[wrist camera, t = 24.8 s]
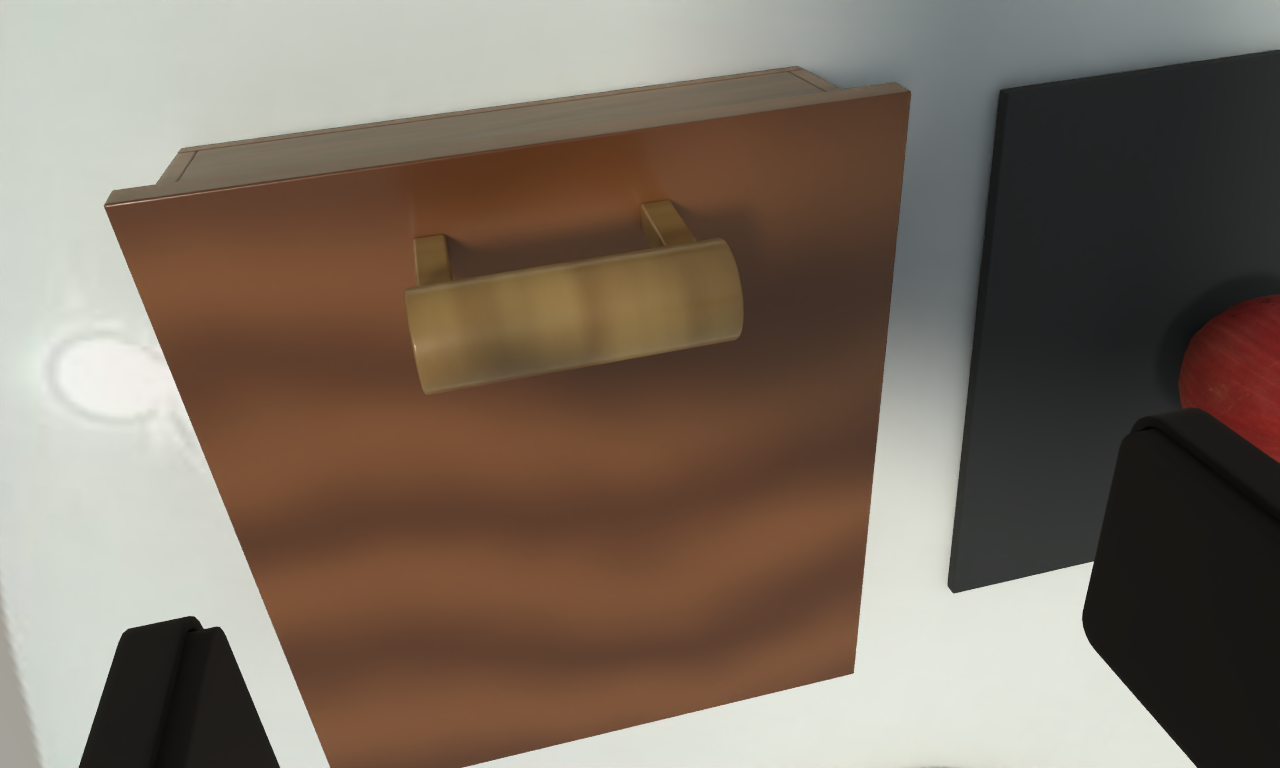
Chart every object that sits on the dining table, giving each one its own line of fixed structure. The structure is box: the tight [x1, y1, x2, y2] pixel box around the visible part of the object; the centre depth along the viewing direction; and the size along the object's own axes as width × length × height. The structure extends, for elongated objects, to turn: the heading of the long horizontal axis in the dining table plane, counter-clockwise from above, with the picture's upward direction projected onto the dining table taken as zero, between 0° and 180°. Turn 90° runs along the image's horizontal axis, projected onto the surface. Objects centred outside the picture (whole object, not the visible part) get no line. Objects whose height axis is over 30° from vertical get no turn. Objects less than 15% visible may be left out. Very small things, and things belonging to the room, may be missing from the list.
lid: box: [104, 82, 911, 768], centre depth 24 cm, size 20×17×6 cm
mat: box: [948, 50, 1280, 593], centre depth 36 cm, size 20×20×1 cm
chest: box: [156, 66, 842, 185], centre depth 29 cm, size 19×17×4 cm
